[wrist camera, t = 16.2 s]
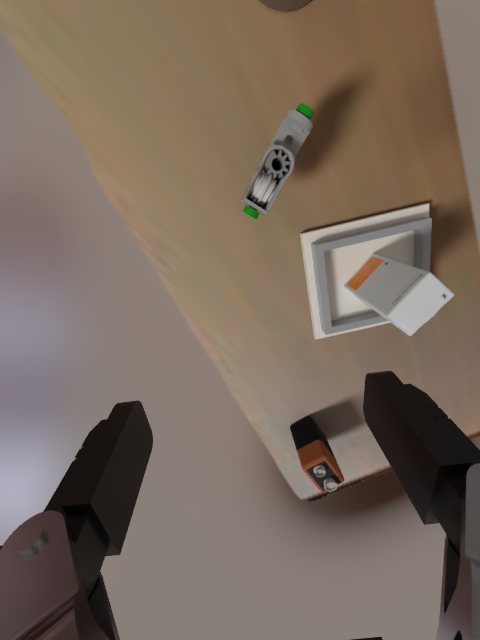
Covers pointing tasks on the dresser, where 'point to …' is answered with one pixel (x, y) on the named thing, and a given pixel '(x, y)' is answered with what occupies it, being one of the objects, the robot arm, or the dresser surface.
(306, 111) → the mechanical component
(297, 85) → the dresser surface
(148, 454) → the robot arm
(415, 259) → the grey rimmed tray
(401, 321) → the skincare box
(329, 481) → the battery
